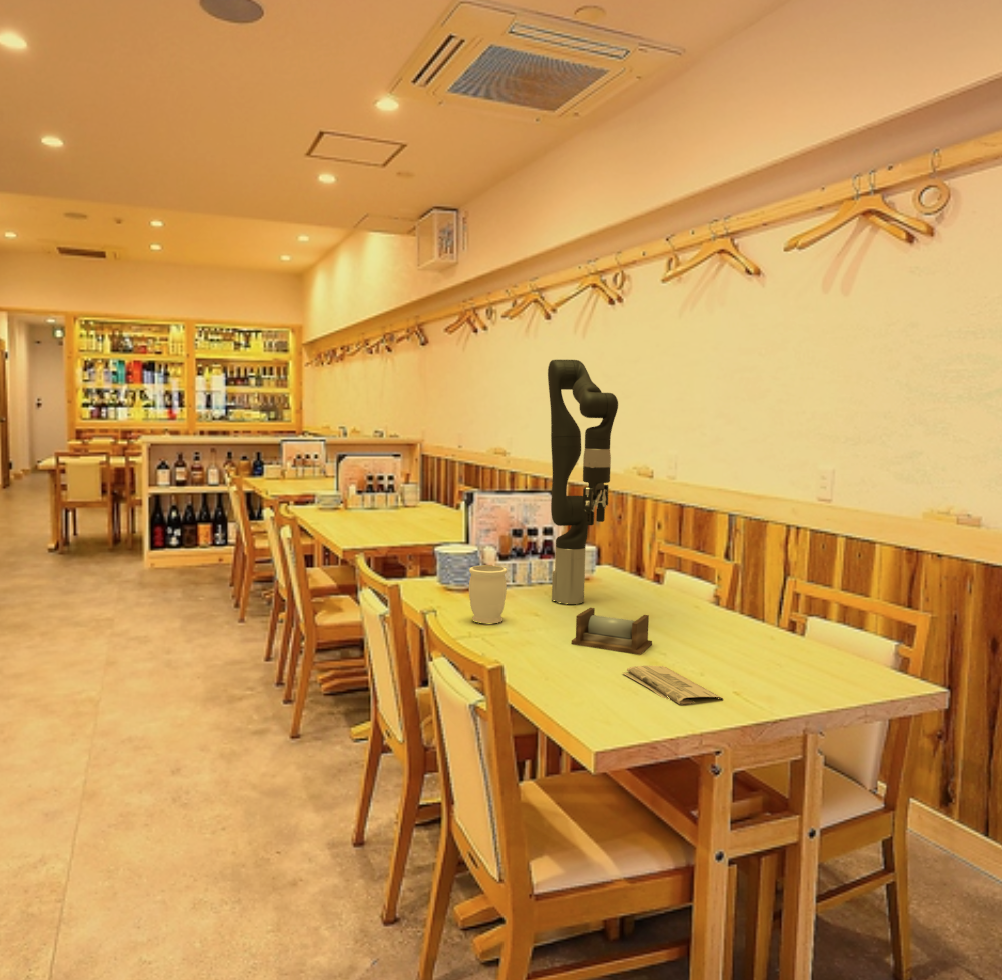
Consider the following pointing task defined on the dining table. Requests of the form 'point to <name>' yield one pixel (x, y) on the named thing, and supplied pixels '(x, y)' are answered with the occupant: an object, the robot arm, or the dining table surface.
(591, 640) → the holder
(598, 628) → the cylinder
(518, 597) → the dining table surface
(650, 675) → the newspaper
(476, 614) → the jar
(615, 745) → the dining table surface
